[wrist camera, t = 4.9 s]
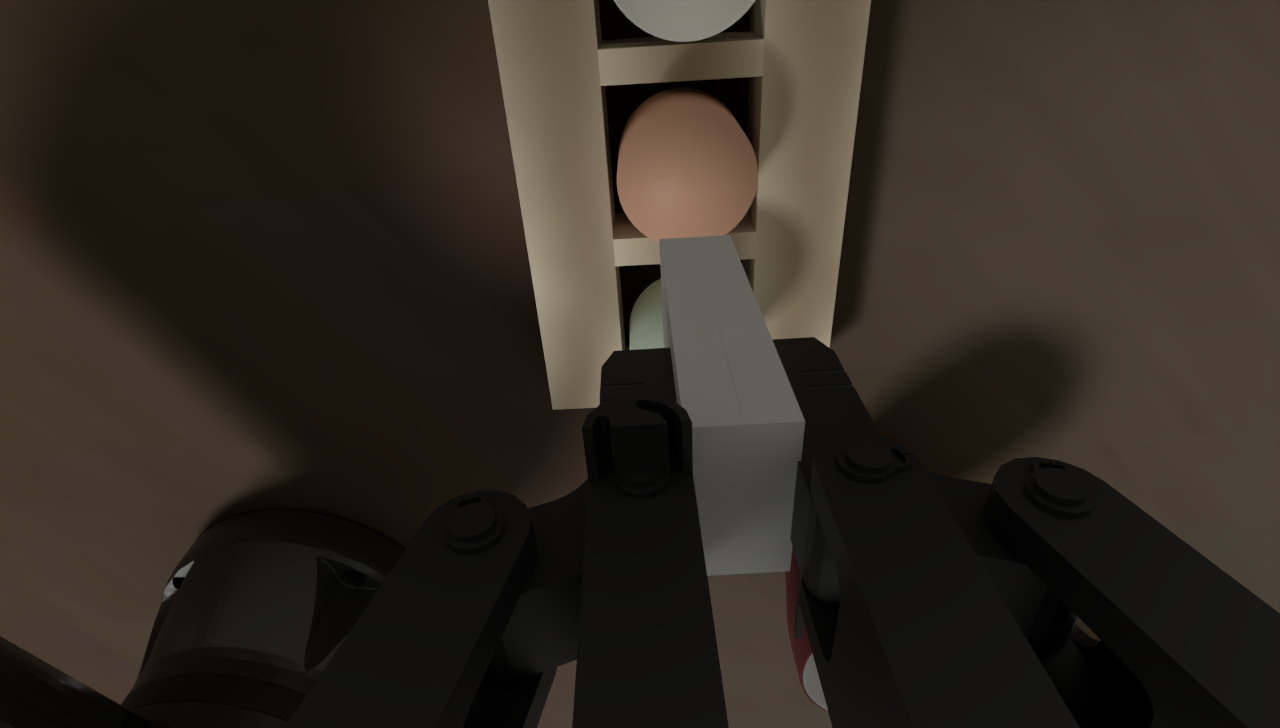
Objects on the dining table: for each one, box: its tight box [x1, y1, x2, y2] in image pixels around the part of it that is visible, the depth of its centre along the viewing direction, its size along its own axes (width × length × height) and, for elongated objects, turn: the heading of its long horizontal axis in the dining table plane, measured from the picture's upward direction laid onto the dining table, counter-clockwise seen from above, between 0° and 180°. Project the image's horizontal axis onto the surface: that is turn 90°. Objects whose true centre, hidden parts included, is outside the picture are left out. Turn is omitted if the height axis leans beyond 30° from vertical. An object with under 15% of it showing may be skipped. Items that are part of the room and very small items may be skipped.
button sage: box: [629, 279, 664, 350], centre depth 25 cm, size 5×5×4 cm
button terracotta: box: [617, 88, 758, 243], centre depth 22 cm, size 5×5×4 cm
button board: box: [488, 0, 871, 410], centre depth 24 cm, size 12×21×3 cm, turn 3°
